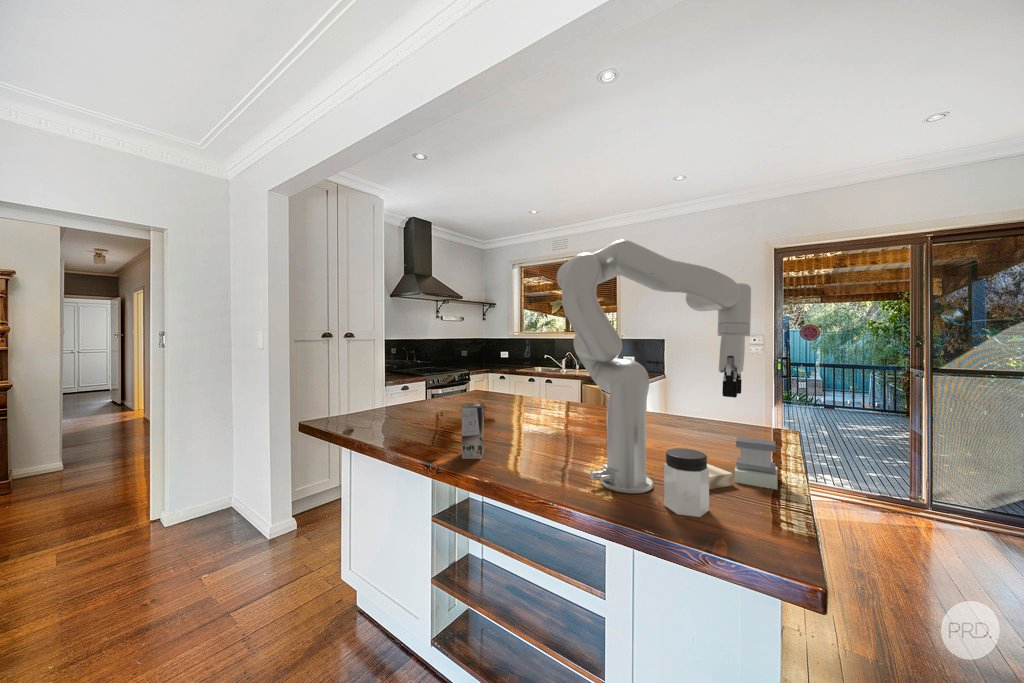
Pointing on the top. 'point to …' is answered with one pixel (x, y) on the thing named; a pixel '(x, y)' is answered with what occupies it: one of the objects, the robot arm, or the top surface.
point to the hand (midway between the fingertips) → (732, 394)
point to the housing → (756, 455)
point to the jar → (686, 482)
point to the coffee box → (472, 430)
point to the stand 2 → (756, 478)
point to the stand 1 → (719, 477)
